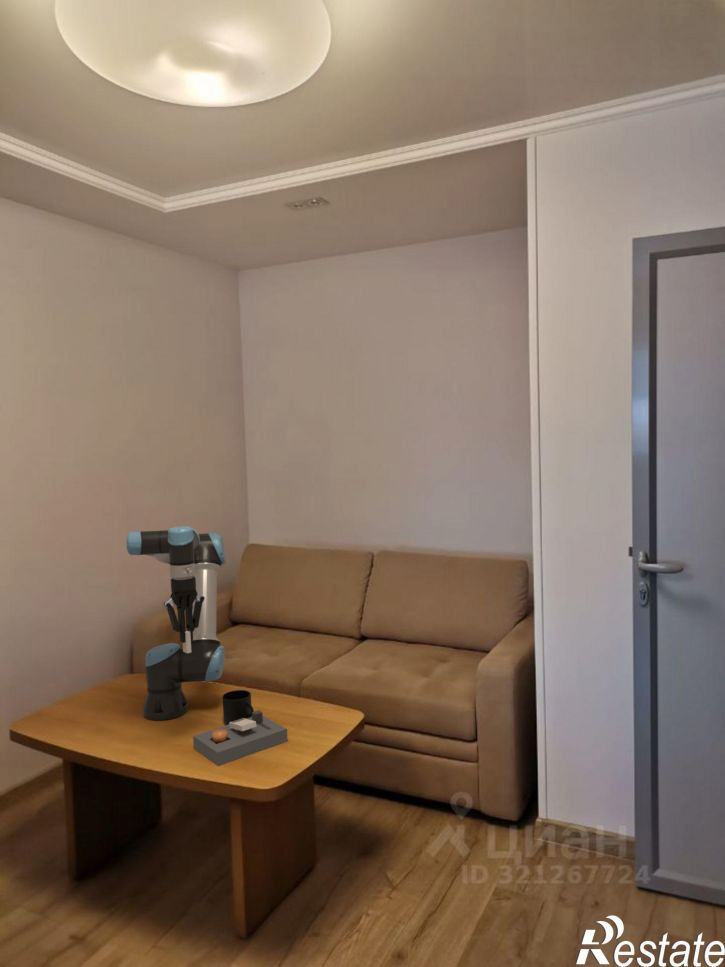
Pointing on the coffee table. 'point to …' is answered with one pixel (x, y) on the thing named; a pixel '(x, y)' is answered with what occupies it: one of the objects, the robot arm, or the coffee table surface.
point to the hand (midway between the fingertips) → (187, 651)
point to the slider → (257, 716)
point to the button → (219, 735)
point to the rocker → (242, 724)
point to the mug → (236, 705)
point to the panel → (240, 741)
